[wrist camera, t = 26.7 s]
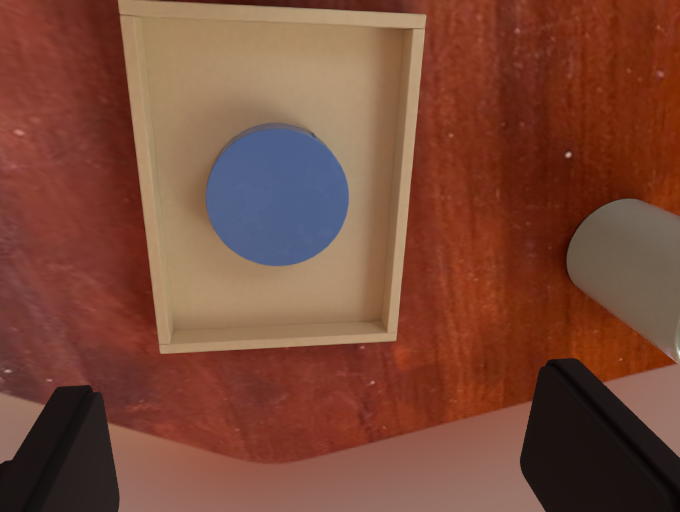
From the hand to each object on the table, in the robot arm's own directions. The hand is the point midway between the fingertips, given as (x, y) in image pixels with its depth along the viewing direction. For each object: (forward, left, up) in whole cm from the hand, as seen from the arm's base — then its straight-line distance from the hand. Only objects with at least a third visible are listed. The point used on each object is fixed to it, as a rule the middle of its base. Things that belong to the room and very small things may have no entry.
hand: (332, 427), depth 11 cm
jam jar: (-4, -21, -18) cm, 28 cm away
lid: (0, 0, -16) cm, 16 cm away
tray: (0, 0, -18) cm, 18 cm away
